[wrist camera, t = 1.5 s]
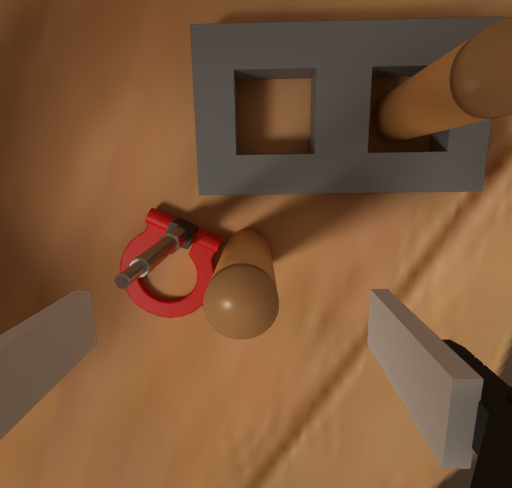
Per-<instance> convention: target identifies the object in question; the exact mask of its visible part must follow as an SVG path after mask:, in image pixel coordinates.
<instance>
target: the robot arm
mask: <svg viewBox="0 0 512 488" xmlns="http://www.w3.org/2000/svg"><path fill="white" fill-rule="evenodd" d="M96 344H97V337H96V330H95V322H94V314H93V307H92V299H91V291H90V290H74V291H73V292H71V293H69V294H68V295H66V296H64V297H63V298H61V299H59V300H58V301H56V302H54V303H53V304H51V305H49V306H48V307H46V308H44V309H43V310H41V311H39V312H38V313H36V314H34V315H33V316H31V317H29V318H28V319H26V320H24V321H23V322H21V323H19V324H18V325H16V326H14V327H13V328H11V329H9V330H8V331H6V332H4V333H3V334H1V335H0V440H1V439H2V438H3V437H4V436H5V435H6V434H7V433H8V432H9V431H10V430H11V429H12V428H13V427H14V426H15V425H16V424H17V423H18V422H19V421H20V420H21V419H22V418H23V417H24V416H25V415H26V414H27V413H28V412H29V411H30V410H31V409H32V408H33V407H34V406H35V405H36V404H37V403H38V402H39V401H40V400H41V399H42V398H43V397H44V396H45V395H46V394H47V393H48V392H49V391H50V390H51V389H52V388H53V387H54V386H55V385H56V384H57V383H58V382H59V381H60V380H61V379H62V378H63V377H64V376H65V375H66V374H67V373H68V372H69V371H70V370H71V369H72V368H73V367H74V366H75V365H76V364H77V363H78V362H79V361H80V360H81V359H82V358H83V357H84V356H85V355H86V354H87V353H88V352H89V351H90V350H91V349H92V348H93V347H94V346H95V345H96ZM367 344H368V346H369V348H370V349H371V351H372V353H373V354H374V356H375V358H376V359H377V361H378V363H379V364H380V366H381V368H382V369H383V371H384V373H385V374H386V376H387V378H388V379H389V381H390V383H391V384H392V386H393V388H394V389H395V391H396V393H397V394H398V396H399V398H400V399H401V401H402V403H403V404H404V406H405V408H406V409H407V411H408V413H409V414H410V416H411V418H412V419H413V421H414V423H415V424H416V426H417V428H418V429H419V431H420V433H421V434H422V436H423V438H424V439H425V441H426V443H427V444H428V446H429V448H430V449H431V451H432V453H433V454H434V456H435V458H436V459H437V461H438V463H439V464H440V466H441V468H470V467H471V460H472V453H473V450H474V451H475V452H476V454H477V455H478V459H477V463H476V467H475V471H474V475H473V479H472V482H471V486H470V488H512V387H510V386H508V385H507V384H506V383H505V382H504V381H503V380H502V379H500V378H499V377H498V376H497V375H496V374H495V373H493V372H492V371H491V370H490V369H489V368H488V367H487V366H485V365H483V363H482V362H481V361H480V360H478V359H477V358H475V357H474V355H473V354H472V353H470V352H469V351H468V350H467V349H466V348H465V347H463V346H461V345H459V344H457V343H455V342H453V341H451V340H441V339H440V338H439V337H438V336H437V335H436V334H435V333H434V332H433V331H432V330H431V329H430V328H428V327H427V326H426V325H425V324H424V323H423V322H422V321H421V320H420V319H419V318H418V317H417V316H416V315H415V314H414V313H412V312H411V311H410V310H409V309H408V308H407V307H406V306H405V305H404V304H403V303H402V302H401V301H400V300H399V299H398V298H396V297H395V296H394V295H393V294H392V293H391V292H390V291H389V290H388V289H371V292H370V308H369V324H368V340H367Z"/></svg>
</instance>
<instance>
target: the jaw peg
mask: <svg viewBox="0 0 512 488" xmlns="http://www.w3.org/2000/svg"><path fill="white" fill-rule="evenodd" d="M203 307H204V313H205V316H206V318H207V320H208V322H209V323H210V324H211V326H212V327H213V328H214V329H215V330H216V331H218V332H219V333H221V334H222V335H224V336H227V337H229V338H233V339H250V338H254V337H256V336H259V335H261V334H262V333H264V332H265V331H266V330H268V329H269V328H270V327H271V325H272V324H273V323H274V321H275V319H276V317H277V314H278V310H279V299H278V293H277V287H276V281H275V275H274V268H273V262H272V256H271V250H270V245H269V242H268V240H267V239H266V237H265V236H264V235H263V234H261V233H260V232H258V231H256V230H252V229H244V230H240V231H238V232H236V233H235V234H233V235H232V236H231V237H230V239H229V240H228V242H227V245H226V247H225V249H224V251H223V253H222V256H221V258H220V260H219V262H218V265H217V267H216V269H215V271H214V273H213V276H212V278H211V280H210V282H209V285H208V287H207V289H206V291H205V294H204V299H203Z"/></svg>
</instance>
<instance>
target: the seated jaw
mask: <svg viewBox="0 0 512 488" xmlns="http://www.w3.org/2000/svg"><path fill="white" fill-rule="evenodd" d="M508 114H512V18H507V19H503V20H500V21H497V22H495V23H493V24H491V25H490V26H488V27H487V28H485V29H484V30H482V31H481V32H479V33H477V34H476V35H474V36H473V37H471V38H470V39H468V40H467V41H465V42H464V43H462V44H461V45H459V46H458V47H456V48H455V49H453V50H452V51H450V52H449V53H447V54H446V55H444V56H442V57H441V58H439V59H438V60H436V61H435V62H433V63H432V64H430V65H429V66H427V67H426V68H424V69H423V70H421V71H420V72H418V73H417V74H415V75H414V76H412V77H410V78H409V79H407V80H406V81H404V82H403V83H401V84H400V85H398V86H397V87H395V88H394V89H392V90H391V91H389V92H388V93H386V94H385V95H383V96H382V97H381V98H380V99H379V100H378V102H377V103H376V105H375V107H374V109H373V113H372V123H373V127H374V129H375V131H376V133H377V134H378V135H379V136H380V137H381V138H383V139H384V140H387V141H390V142H399V141H403V140H407V139H411V138H415V137H419V136H423V135H427V134H432V133H436V132H440V131H444V130H448V129H452V128H456V127H460V126H464V125H468V124H472V123H476V122H480V121H484V120H488V119H492V118H496V117H500V116H504V115H508Z"/></svg>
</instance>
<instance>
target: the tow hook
mask: <svg viewBox="0 0 512 488" xmlns="http://www.w3.org/2000/svg"><path fill="white" fill-rule="evenodd" d="M146 223H148V224H147V227H146V230H145V232H143V233H141V234H139V235H138V236H137V237H135V238H134V239H133V240H132V241H131V242H130V243H129V245H128V246H127V248H126V249H125V251H124V253H123V256H122V259H121V263H120V274H119V275H117V276H116V278H115V283H116V285H117V286H118V287H120V288H125V290H126V291H127V293H128V295H129V297H130V298H131V299H132V300H133V301H134V302H135V303H136V304H137V305H138V306H140V307H141V308H143V309H144V310H146V311H147V312H149V313H152V314H155V315H157V316H161V317H169V318H172V317H181V316H185V315H187V314H190V313H192V312H194V311H195V310H197V309H198V308H199V307H201V306H202V305H203V299H204V294H205V291H206V289H207V287H208V285H209V282H210V280H211V278H212V276H213V273H214V271H215V268H214V263H213V256H214V254H215V253H217V252H218V250H219V247H220V245H221V243H222V240H223V239H222V238H220V237H217V236H215V235H213V234H211V233H208V232H206V231H204V230H202V229H199V227H198V226H195V225H193V224H191V223H189V222H186V221H184V220H182V219H180V218H174V217H172V216H170V215H168V214H165V213H163V212H161V211H159V210H156V209H154V208H152V209H151V210H150V211H149V213H148V214H147V217H146ZM192 244H193V245H192ZM191 245H192V248H191V250H190V253H189V255H190V257H191V259H192V260H193V262H194V264H195V266H196V270H197V283H196V286H195V288H194V289H193V291H192V292H191V293H189V294H188V295H187V296H185V297H183V298H180V299H175V300H168V299H163V298H160V297H157V296H156V295H154V294H153V293H151V292H150V291H149V290H148V289H147V288H146V287H145V285H144V283H143V282H142V280H141V278H143V277H145V276H146V275H148V274H149V273H150V272H151V271H152V270H153V269H154V268H155V267H156V266H157V265H158V264H160V263H161V262H162V261H163V260H164V259H165V258H166V257H167V256H168V255H169V254H172V253H174V252H175V251H177V250H178V249H179V248H180V247H183V248H185V249H188V248H189V247H190V246H191Z"/></svg>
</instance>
